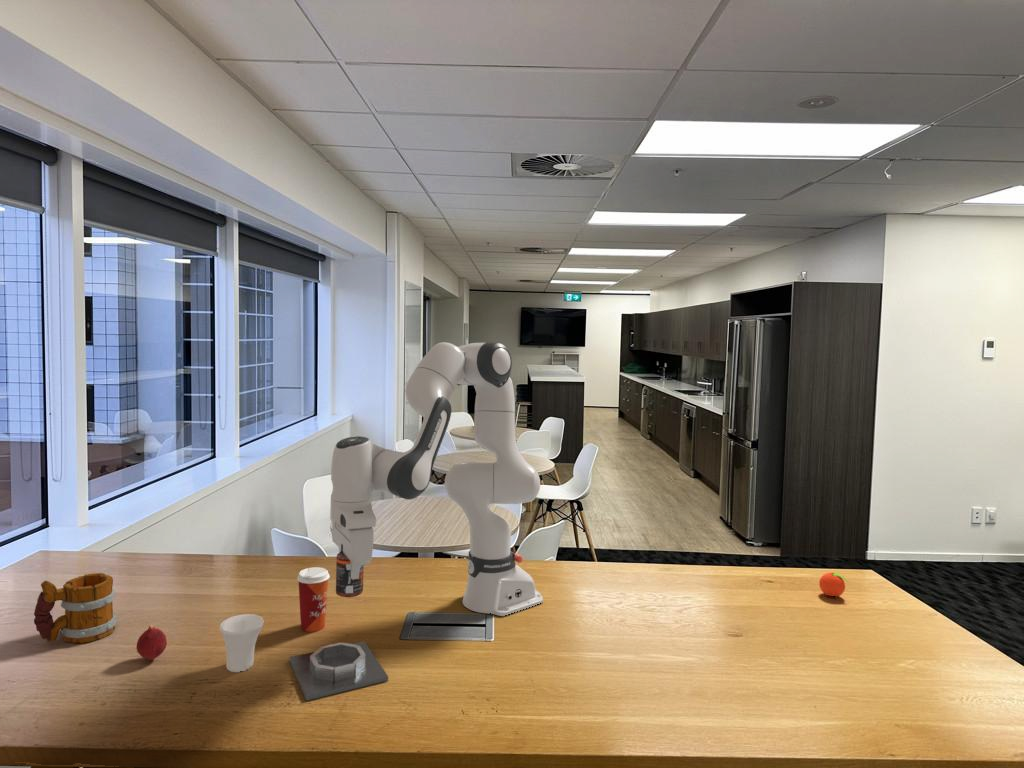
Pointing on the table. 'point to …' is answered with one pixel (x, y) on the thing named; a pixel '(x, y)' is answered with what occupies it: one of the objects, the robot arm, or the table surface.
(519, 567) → the robot arm
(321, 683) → the ring collar
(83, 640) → the mug
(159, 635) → the onion
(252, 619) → the cup
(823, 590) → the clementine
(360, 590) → the supplement bottle
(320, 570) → the paper cup
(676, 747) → the table surface
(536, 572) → the table surface
